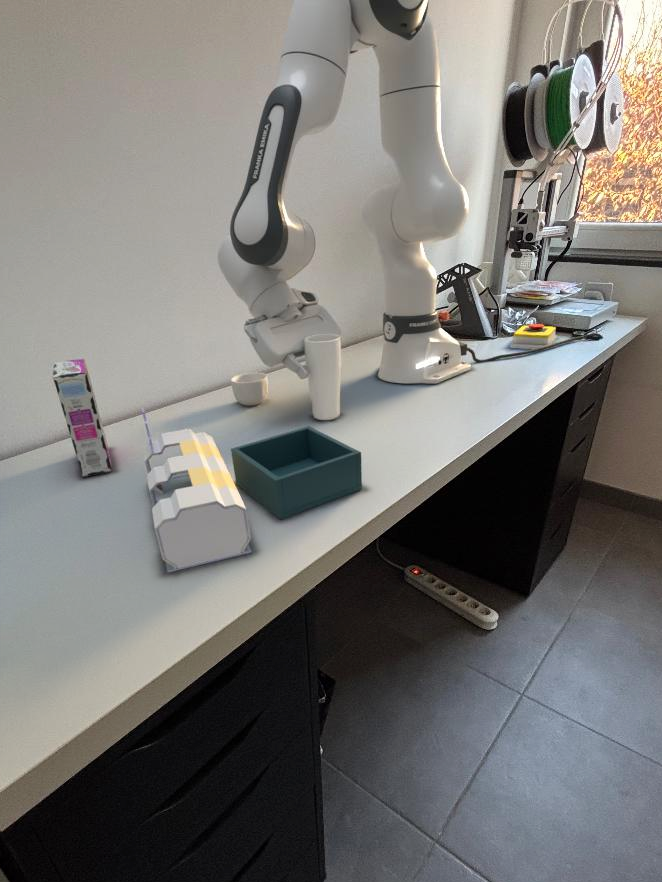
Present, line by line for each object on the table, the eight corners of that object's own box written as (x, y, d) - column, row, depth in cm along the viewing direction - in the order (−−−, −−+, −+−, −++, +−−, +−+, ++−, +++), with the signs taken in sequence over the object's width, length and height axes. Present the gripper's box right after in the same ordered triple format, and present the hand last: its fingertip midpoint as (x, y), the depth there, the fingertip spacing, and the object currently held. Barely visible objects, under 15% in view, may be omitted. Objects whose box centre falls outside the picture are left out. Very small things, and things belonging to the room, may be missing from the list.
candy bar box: (114, 471, 87) (87, 372, 78) (82, 478, 85) (50, 377, 77) (109, 448, 96) (84, 356, 88) (80, 454, 94) (51, 361, 86)
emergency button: (559, 321, 146) (548, 332, 135) (556, 337, 148) (545, 350, 137) (524, 319, 150) (510, 330, 139) (522, 335, 152) (508, 347, 141)
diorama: (151, 484, 82) (131, 402, 75) (217, 471, 84) (203, 391, 78) (166, 573, 61) (139, 470, 55) (252, 552, 64) (237, 452, 57)
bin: (311, 459, 86) (309, 425, 83) (362, 489, 76) (361, 452, 73) (236, 484, 80) (230, 448, 77) (280, 519, 70) (275, 480, 67)
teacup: (257, 410, 109) (253, 384, 107) (226, 406, 113) (223, 381, 110) (281, 395, 117) (279, 371, 114) (252, 392, 120) (249, 368, 118)
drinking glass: (340, 423, 100) (337, 341, 92) (305, 422, 101) (299, 342, 94) (346, 410, 106) (343, 333, 98) (313, 410, 107) (307, 334, 100)
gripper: (246, 309, 90) (294, 373, 90) (320, 292, 104) (362, 347, 103) (232, 334, 95) (277, 395, 94) (304, 314, 109) (344, 367, 108)
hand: (322, 370), depth 99 cm, fingers open, 8 cm apart
